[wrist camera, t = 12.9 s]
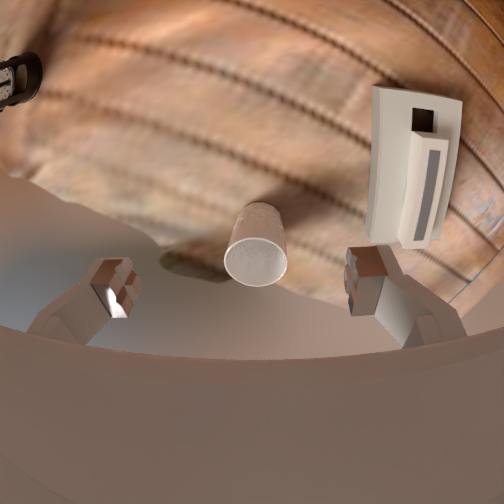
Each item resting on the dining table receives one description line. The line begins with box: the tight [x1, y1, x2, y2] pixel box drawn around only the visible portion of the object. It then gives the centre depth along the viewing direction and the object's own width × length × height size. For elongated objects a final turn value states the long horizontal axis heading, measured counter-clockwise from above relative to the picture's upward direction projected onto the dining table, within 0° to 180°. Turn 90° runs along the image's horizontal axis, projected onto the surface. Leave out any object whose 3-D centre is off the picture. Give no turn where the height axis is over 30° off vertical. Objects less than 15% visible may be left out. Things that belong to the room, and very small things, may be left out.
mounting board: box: [365, 85, 462, 243], centre depth 33 cm, size 22×12×4 cm, turn 7°
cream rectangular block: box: [397, 131, 449, 249], centre depth 32 cm, size 16×4×6 cm, turn 7°
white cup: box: [224, 202, 288, 286], centre depth 39 cm, size 8×8×10 cm
